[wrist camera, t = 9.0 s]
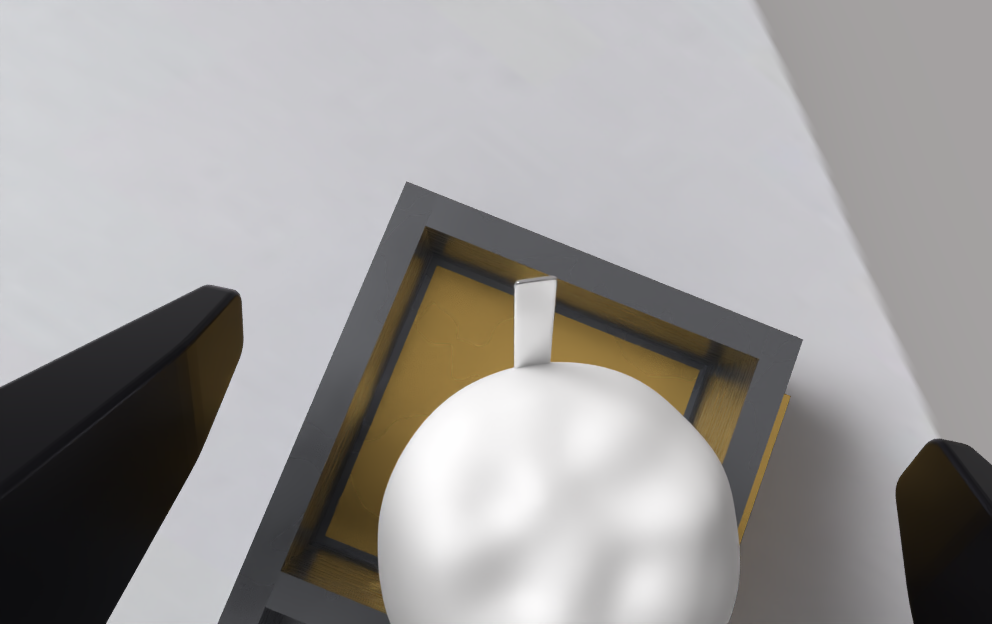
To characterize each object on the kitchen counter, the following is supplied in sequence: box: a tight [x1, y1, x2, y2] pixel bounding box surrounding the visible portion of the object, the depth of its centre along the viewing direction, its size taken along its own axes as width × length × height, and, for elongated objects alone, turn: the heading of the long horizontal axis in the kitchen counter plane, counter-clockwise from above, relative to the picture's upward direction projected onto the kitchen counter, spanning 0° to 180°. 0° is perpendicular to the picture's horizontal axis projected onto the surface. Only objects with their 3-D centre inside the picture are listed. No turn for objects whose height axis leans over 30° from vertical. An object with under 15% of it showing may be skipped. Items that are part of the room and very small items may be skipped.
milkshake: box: [378, 276, 740, 624], centre depth 12 cm, size 4×5×10 cm
